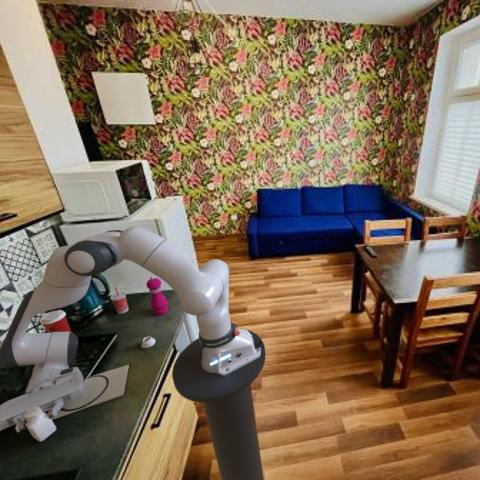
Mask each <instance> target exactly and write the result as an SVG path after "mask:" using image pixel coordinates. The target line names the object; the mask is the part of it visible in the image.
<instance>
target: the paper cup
mask: <svg viewBox="0 0 480 480" xmlns="http://www.w3.org/2000/svg"><path fill="white" fill-rule="evenodd" d="M40 324H42V326H43V327H44V329H45V331H46V333H52V332H72V330H71V327H70V324H69V321H68V319H67V313H66V312H65V311H64V310H62V309H58V310H52V311H50V312H49V311H48V312H47V313H45V314H43V315H42V316H41V317H40Z"/></svg>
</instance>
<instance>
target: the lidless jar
mask: <svg viewBox="0 0 480 480" xmlns="http://www.w3.org/2000/svg"><path fill="white" fill-rule="evenodd" d="M155 344H156V339H155V338H153V337H152V336H145V337H144V338H143V339H142V342H141V348H142V349H149V348H150V347H153V346H154V345H155Z"/></svg>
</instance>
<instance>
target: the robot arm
mask: <svg viewBox="0 0 480 480" xmlns="http://www.w3.org/2000/svg"><path fill="white" fill-rule="evenodd" d="M123 261H130V262H132V263H134V264H136V265H138V266H139V267H141V268H143V269H145V270H146V271H148V272H150V273H151V274H153V275H154V276H156V277H157V278H158V279H160V280H163V281H164V283H166V284H167V285H168V286H169V287H170V288H171V289H172V290H173V292H174V293H175V294H176V296H177V297H178V300H179V305H180V307H181V309H182V310H183V311H184V312H185V313H186V314H189V315H190V316H195V317H196V318H195V319H196V323H197V327H198V338H199V341H200V345H201V347H202V361H201V365H202V367H203V369H204V370H206V371H208V372H211V373H217V374H219V375H221V376H226V375H227V374H229V373H231V372H233V371H235V370H237V369H239V368H241V367H242V366H244V365H246V364H248V363H250V362H252V361H254V360H255V359H257V358H259V357H260V354H261V348H260V344H261V343H262V341H263V340H262V341H261V340H260V339H259V338H258V336H259V335H258V334H257V333H255V335H251V334H250V333H249V332H248V331H247V330H248V329H246V328H242V329H240V328H241V327H238V326H237V323H235V322H236V321H235V320H232V322H231V318H230V317H231V316H230V310H229V309H230V308H229V307H230V305H229V303H230V301H229V299H230V284H229V280H230V268H229V265H228V264H227V263H226V262H224V261H223V260H221V259H217V258H214V259H210V260H208V261H207V262H205V263H204V264H202V265H201V266H200V267H199V268H197V267H196V266H195V265H194V264H193V263H192V261H191V259H190V256H189V254H188V253H187V251H185V250H183V249H182V248H180V247H178V246H177V245H176V244H174V243H173V242H171V241H170V240H168V239H166V238H164V237H163V236H162V235H159V234H157V233H155V232H153V231H151V230H149V229H147V228H145V227H141V226H138V225H134V226H133V225H132V226H130V227H128V228H125V229H123V230H121V229H112V230H106V231H105V232H102V233H101V232H100V233H98V234H93V235H90V236H89V237H87V238H85V239H82V240H79V241H77V242H75V243H74V244H72V245H63V246H60V247H57V248H56V249H54V250H53V251H52V253H51V254H50V256H49V258H48V260H47V264H46V266H45V269H44V273H43V277H42V282H41V284H40V285H39V286H38V287H37V288H36V289H34V290H30V291H28V292H27V293H26V294H25V295H24V297H23V298H22V300H21V302H20V304H19V306H18V308H17V310H16V312H15V313H14V317H13V318H12V321H11V324H10V325H9V328H8V329H7V333H6V335H5V337H4V339H3V340H2V341H1V342H0V367H1V368H4V369H6V370H7V369H13V368H20V367H23V366H32V365H34V366H33V368H32V371H31V377H30V378H29V381H28V383H27V386H26V389H25V392H24V394H22V395H19V396H17V397H14V398H12V399H9V400H7V401H5V402H3V403H1V404H0V431H2V430H5V429H7V428H10V427H12V426H15V431H16V432H17V433H20V432H23V431H24V430H26V429H27V427H26V426H25V424H26V423H27V422H26V421H27V420H26V419H25V417H24V414H25V413H26V412H27V411H28V410H29V409H31V408H33V407H40V409H41V410H42V411H43V412H44V413H46V412H47V414H48V417H49V419H50V418H53V417H55V416H57V412H58V411H59V410H60V409H61V408H62V407H63V405H64V404H65V403H67V402H70V401H72V400H75V399H77V398H79V397H82V396H83V395H84V394H85V393H86V383H85V381H84V378H85V377H84V375H83V373H82V371H81V370H80V369H79V367H78V366H72V367H70V365H71V364H72V363H73V362H74V361H75V359H76V357H77V351H78V346H79V337H78V336H77V335H76V334H75V333H74V332H72V331H71V332H52V333H48V332H38V333H37V332H36V333H35V332H34V333H31V332H30V333H29V332H27V331H28V328H29V326H30V324H31V322H32V319H33V318H34V317H36V316H38V315H40V314H42V313H45V312H49V311H54V310H56V309H63V308H66V307H68V306H71V305H74V304H75V303H77V302H79V301H80V300H82V299H83V298H84V297H85V296H86V295H87V293H88V290H89V287H90V284H91V280H92V277H93V276H98V275H100V274H102V273H104V272H106V271H107V270H109V269H111V268H113V267H116V266H118V265H119V264H121V263H122V262H123ZM257 335H258V336H257Z"/></svg>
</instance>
